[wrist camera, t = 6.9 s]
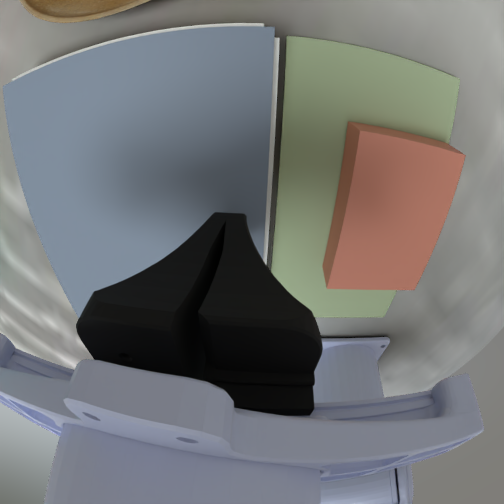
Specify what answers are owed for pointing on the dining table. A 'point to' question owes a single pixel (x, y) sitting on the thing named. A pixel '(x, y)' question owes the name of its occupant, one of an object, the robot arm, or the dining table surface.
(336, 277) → the card box
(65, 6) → the plant saucer
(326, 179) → the felt mat
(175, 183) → the book deck
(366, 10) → the dining table surface
